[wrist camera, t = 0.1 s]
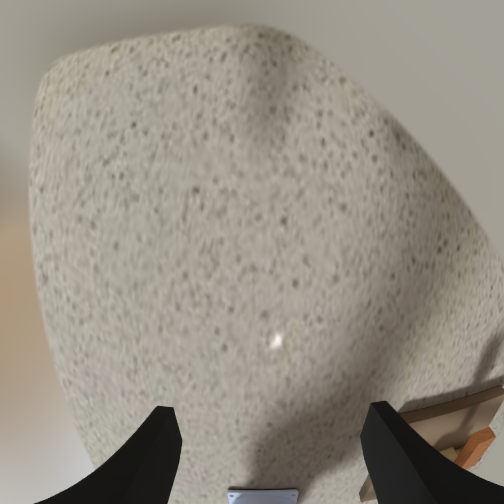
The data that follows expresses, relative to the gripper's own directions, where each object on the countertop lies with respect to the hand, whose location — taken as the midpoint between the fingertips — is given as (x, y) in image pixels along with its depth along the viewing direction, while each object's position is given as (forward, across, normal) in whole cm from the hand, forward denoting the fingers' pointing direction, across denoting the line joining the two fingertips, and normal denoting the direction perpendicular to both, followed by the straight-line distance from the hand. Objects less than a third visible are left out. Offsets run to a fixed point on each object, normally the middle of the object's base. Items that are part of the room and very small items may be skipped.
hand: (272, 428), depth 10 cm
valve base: (+10, -19, +21) cm, 30 cm away
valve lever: (+5, -19, +16) cm, 25 cm away
